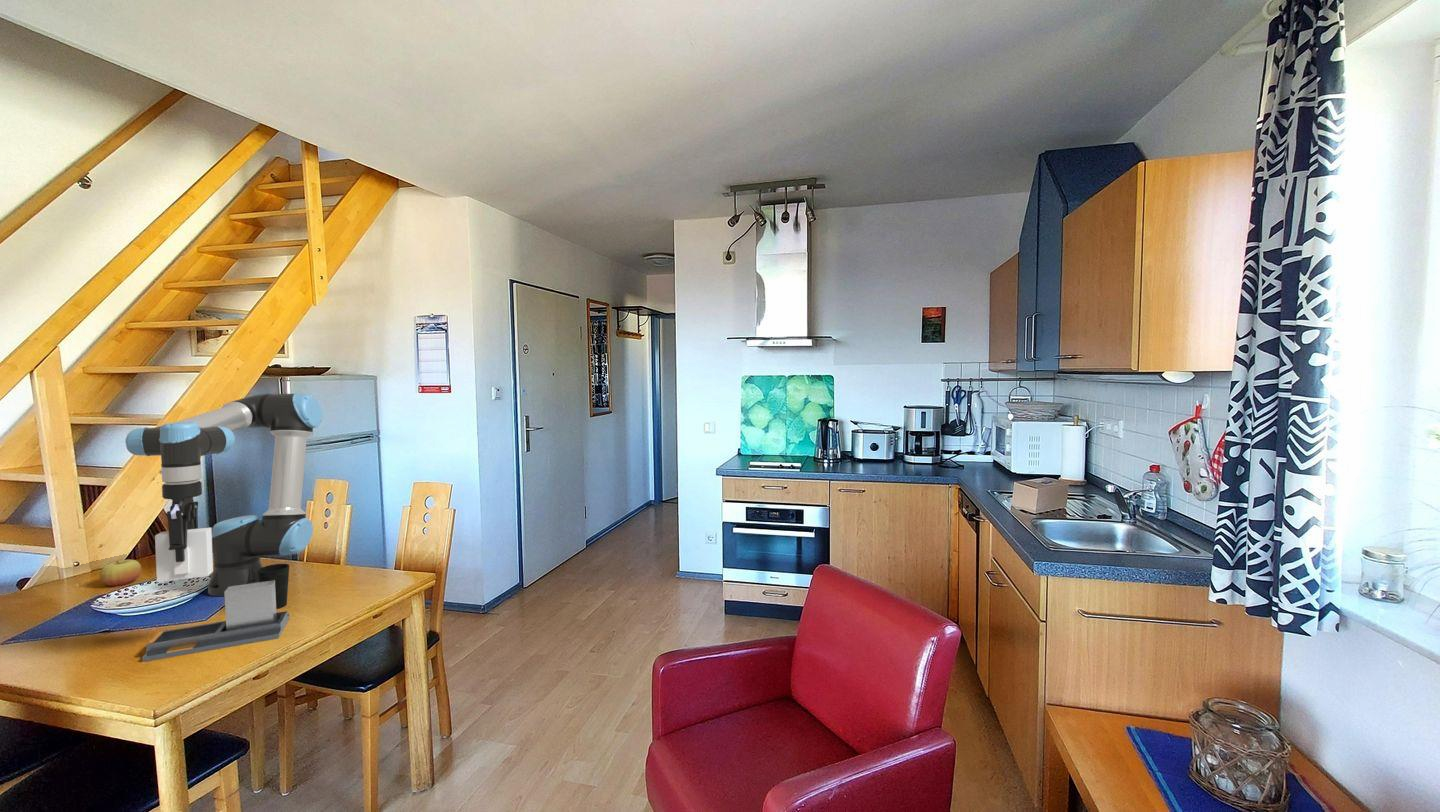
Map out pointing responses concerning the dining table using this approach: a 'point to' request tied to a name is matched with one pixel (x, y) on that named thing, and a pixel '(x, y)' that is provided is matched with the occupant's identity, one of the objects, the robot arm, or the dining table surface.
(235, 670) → the dining table surface
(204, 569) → the block
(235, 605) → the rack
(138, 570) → the apple
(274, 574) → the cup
